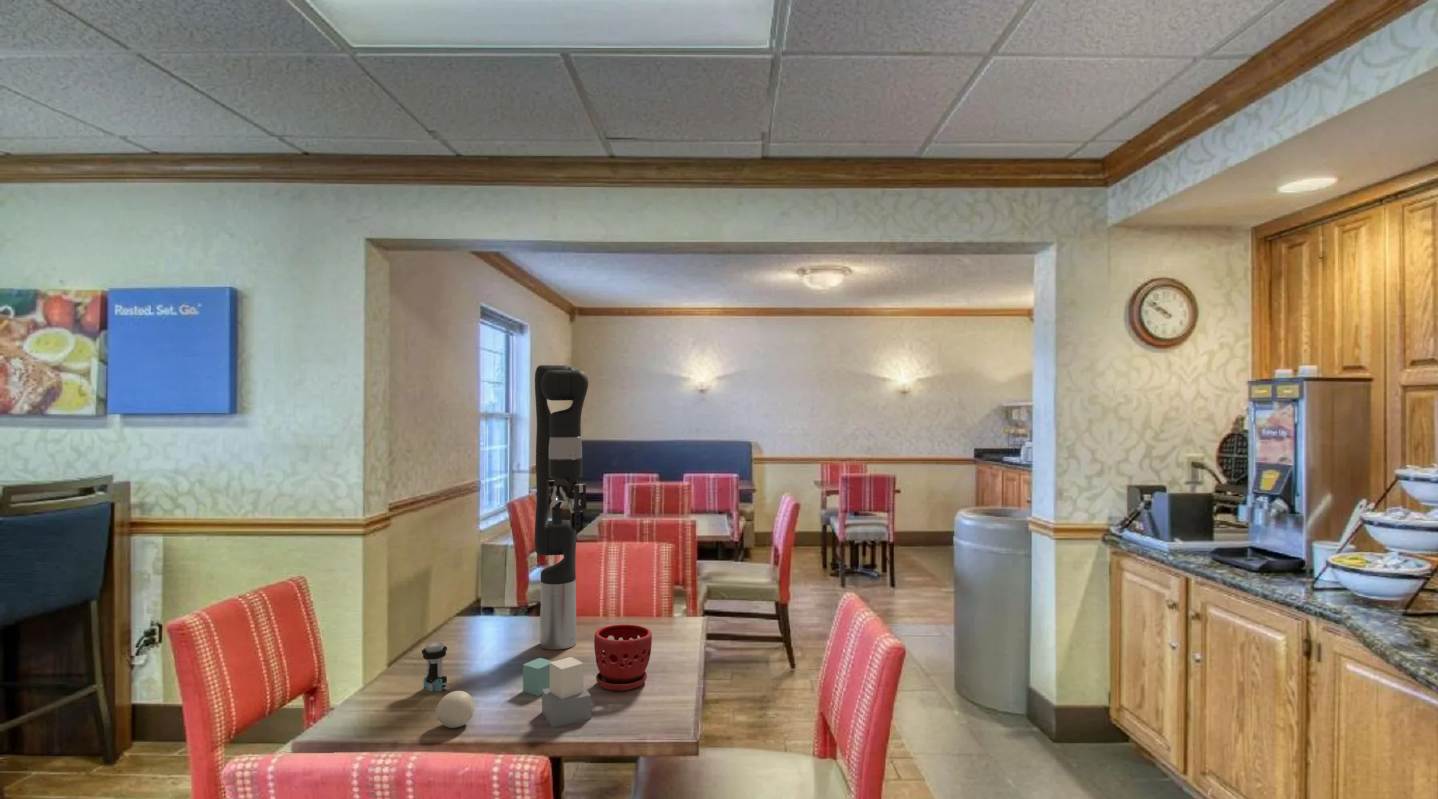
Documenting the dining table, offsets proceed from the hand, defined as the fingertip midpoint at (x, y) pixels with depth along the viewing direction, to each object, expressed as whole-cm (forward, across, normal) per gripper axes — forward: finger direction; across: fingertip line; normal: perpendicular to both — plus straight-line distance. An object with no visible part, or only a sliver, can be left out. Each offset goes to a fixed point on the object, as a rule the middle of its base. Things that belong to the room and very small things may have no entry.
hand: (566, 527), depth 160 cm
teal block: (+36, -2, -6) cm, 37 cm away
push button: (+36, -18, -23) cm, 47 cm away
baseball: (+36, +3, -27) cm, 45 cm away
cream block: (+31, +14, -8) cm, 35 cm away
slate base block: (+36, +14, -8) cm, 40 cm away
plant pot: (+36, +8, +10) cm, 39 cm away
